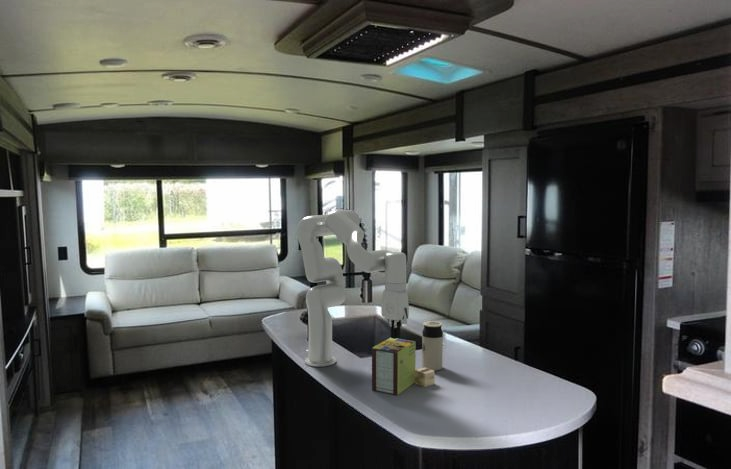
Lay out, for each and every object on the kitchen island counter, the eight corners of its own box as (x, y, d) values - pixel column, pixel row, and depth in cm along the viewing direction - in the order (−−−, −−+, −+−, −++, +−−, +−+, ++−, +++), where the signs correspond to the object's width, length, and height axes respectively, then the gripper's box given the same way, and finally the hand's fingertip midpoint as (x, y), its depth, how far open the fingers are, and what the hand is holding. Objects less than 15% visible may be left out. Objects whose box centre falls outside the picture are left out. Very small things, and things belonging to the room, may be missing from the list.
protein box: (415, 382, 202) (416, 340, 201) (397, 395, 189) (397, 351, 187) (390, 377, 207) (390, 336, 206) (370, 390, 194) (371, 347, 192)
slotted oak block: (414, 383, 201) (415, 369, 200) (424, 380, 204) (424, 366, 204) (424, 387, 197) (425, 373, 197) (434, 384, 200) (434, 370, 200)
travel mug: (441, 365, 221) (442, 321, 220) (442, 371, 213) (443, 326, 212) (421, 364, 222) (422, 320, 221) (422, 370, 214) (422, 325, 213)
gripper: (373, 285, 198) (373, 335, 200) (402, 291, 187) (402, 344, 188) (389, 283, 203) (389, 331, 204) (418, 288, 191) (417, 340, 193)
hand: (395, 337), depth 196 cm, fingers closed
